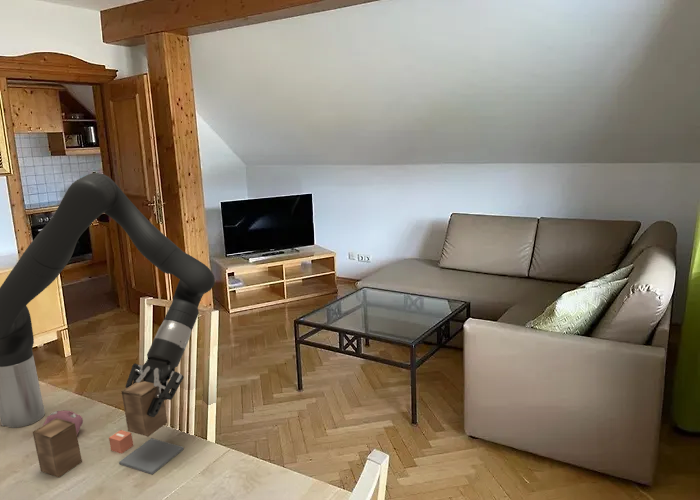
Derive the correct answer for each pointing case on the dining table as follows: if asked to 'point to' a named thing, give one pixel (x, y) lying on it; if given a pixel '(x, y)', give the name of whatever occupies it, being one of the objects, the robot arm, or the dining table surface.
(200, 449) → the dining table surface
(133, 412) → the brown rectangular block
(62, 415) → the video game controller
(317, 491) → the dining table surface
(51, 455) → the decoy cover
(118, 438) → the red cube
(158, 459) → the slate mat
